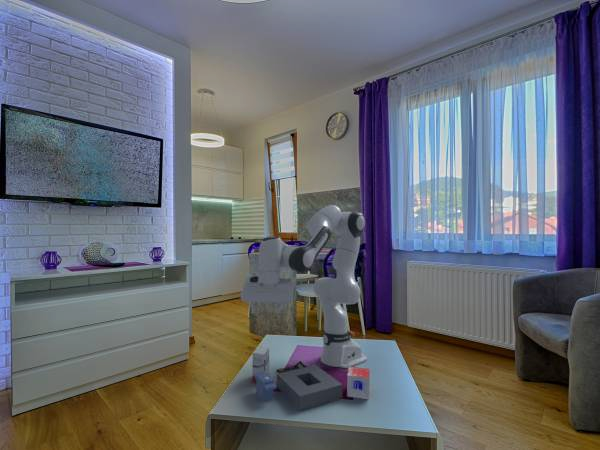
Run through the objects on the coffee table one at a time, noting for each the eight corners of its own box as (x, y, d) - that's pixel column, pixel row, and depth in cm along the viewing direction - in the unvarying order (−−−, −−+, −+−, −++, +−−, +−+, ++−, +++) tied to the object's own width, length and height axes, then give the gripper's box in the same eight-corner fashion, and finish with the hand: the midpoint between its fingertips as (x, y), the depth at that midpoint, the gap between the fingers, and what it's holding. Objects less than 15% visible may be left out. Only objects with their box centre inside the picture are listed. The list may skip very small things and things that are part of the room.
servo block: (263, 387, 123) (263, 367, 123) (276, 403, 112) (276, 382, 112) (253, 389, 121) (253, 370, 121) (266, 406, 110) (266, 384, 110)
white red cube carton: (369, 389, 123) (369, 368, 123) (368, 399, 115) (368, 377, 115) (348, 386, 125) (349, 366, 125) (346, 396, 117) (347, 375, 117)
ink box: (263, 383, 126) (263, 354, 126) (251, 382, 127) (252, 353, 127) (269, 374, 134) (269, 346, 134) (258, 373, 135) (259, 345, 135)
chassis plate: (315, 376, 132) (315, 364, 132) (342, 398, 116) (342, 384, 116) (276, 386, 124) (276, 373, 124) (299, 411, 107) (299, 396, 107)
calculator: (276, 371, 138) (276, 364, 138) (301, 367, 142) (301, 360, 142) (283, 380, 129) (283, 373, 129) (309, 376, 133) (309, 369, 133)
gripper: (292, 277, 127) (290, 312, 126) (242, 276, 122) (239, 311, 122) (296, 279, 121) (293, 315, 120) (242, 277, 116) (240, 315, 115)
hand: (266, 313), depth 121 cm, fingers open, 8 cm apart
